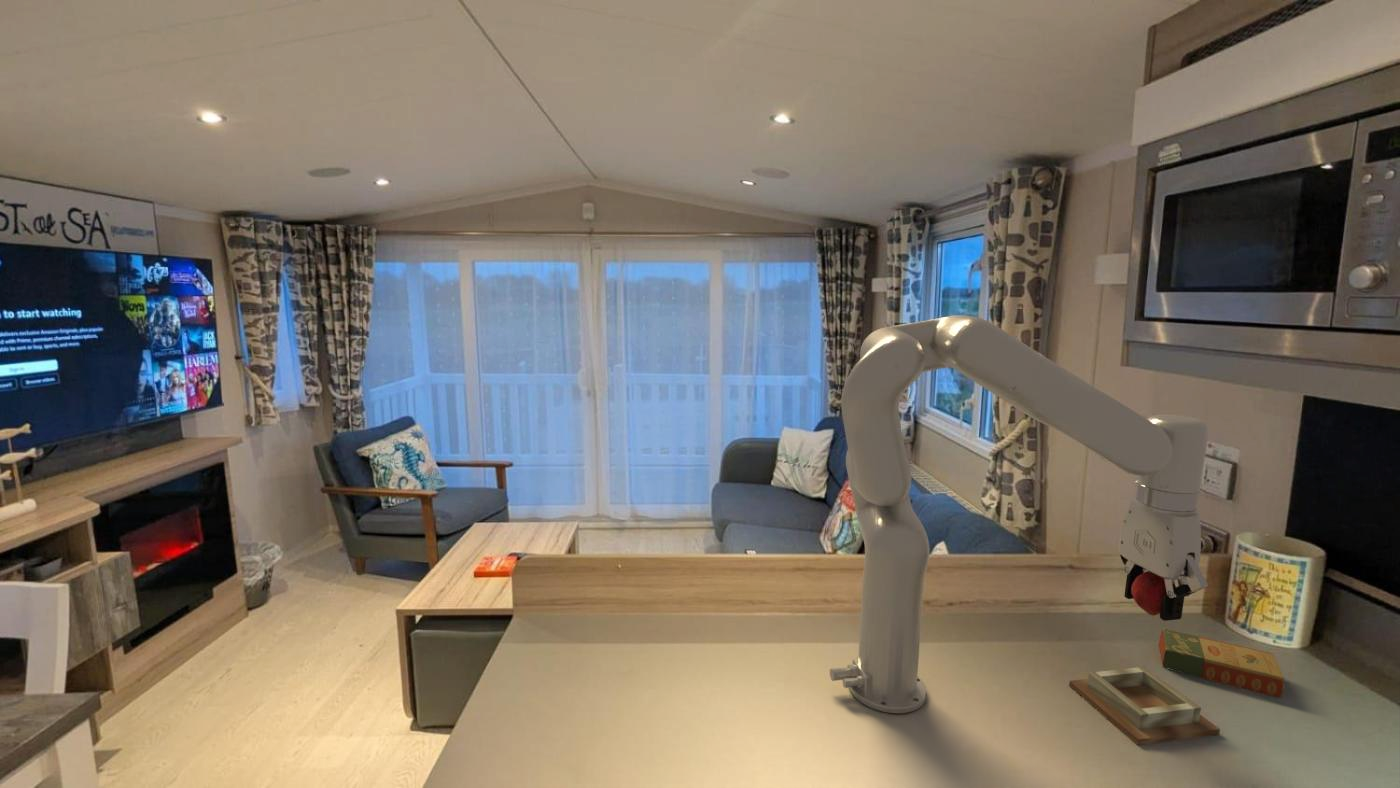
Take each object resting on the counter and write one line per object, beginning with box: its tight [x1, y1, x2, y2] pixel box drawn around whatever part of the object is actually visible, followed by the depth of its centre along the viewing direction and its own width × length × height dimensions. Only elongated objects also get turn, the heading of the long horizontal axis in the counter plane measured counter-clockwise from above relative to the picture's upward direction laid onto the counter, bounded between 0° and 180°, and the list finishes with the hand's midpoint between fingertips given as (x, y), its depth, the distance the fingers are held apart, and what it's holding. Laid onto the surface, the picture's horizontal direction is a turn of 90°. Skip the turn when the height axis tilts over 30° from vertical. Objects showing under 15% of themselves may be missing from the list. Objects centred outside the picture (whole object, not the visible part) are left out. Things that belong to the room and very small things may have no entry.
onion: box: [1131, 570, 1167, 616], centre depth 98 cm, size 6×6×8 cm
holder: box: [1068, 666, 1221, 746], centre depth 101 cm, size 14×14×4 cm
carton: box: [1158, 628, 1285, 699], centre depth 111 cm, size 8×16×4 cm, turn 58°
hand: (1151, 606), depth 98 cm, fingers closed on onion, 5 cm apart
